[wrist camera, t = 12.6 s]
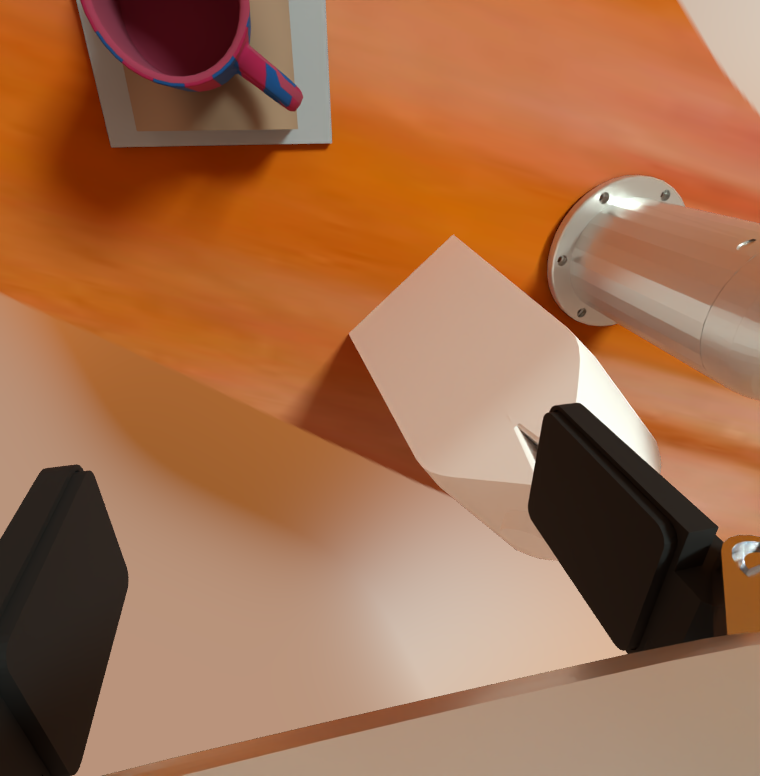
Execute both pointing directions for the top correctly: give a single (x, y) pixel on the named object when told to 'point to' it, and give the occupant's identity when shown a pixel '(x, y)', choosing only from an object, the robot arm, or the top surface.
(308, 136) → the board
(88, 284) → the top surface
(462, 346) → the milk
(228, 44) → the cup
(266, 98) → the walnut slab
